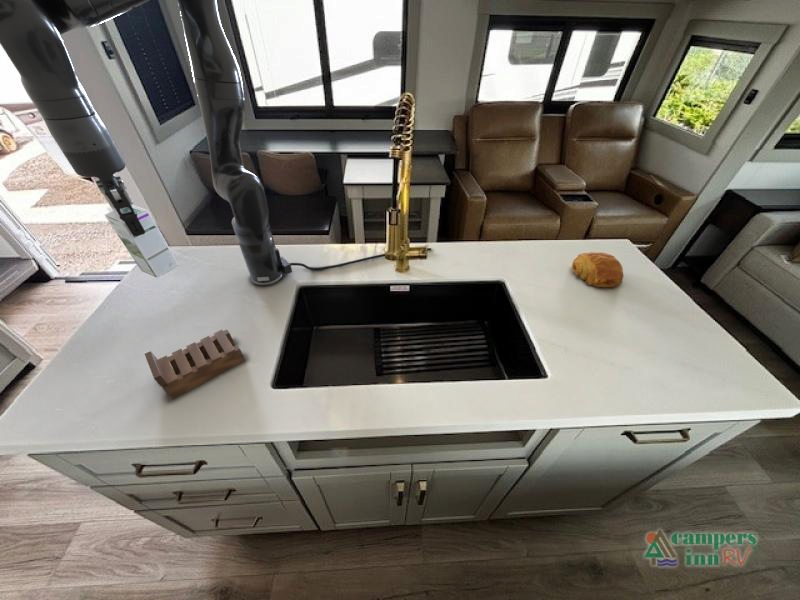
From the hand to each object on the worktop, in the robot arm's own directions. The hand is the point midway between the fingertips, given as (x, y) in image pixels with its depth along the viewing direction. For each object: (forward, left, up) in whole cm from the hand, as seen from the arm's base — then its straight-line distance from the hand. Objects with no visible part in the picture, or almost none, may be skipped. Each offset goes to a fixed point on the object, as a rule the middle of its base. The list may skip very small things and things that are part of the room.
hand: (135, 226), depth 68 cm
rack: (+2, +19, -28) cm, 34 cm away
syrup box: (0, 0, -11) cm, 11 cm away
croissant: (-106, +63, -28) cm, 126 cm away
